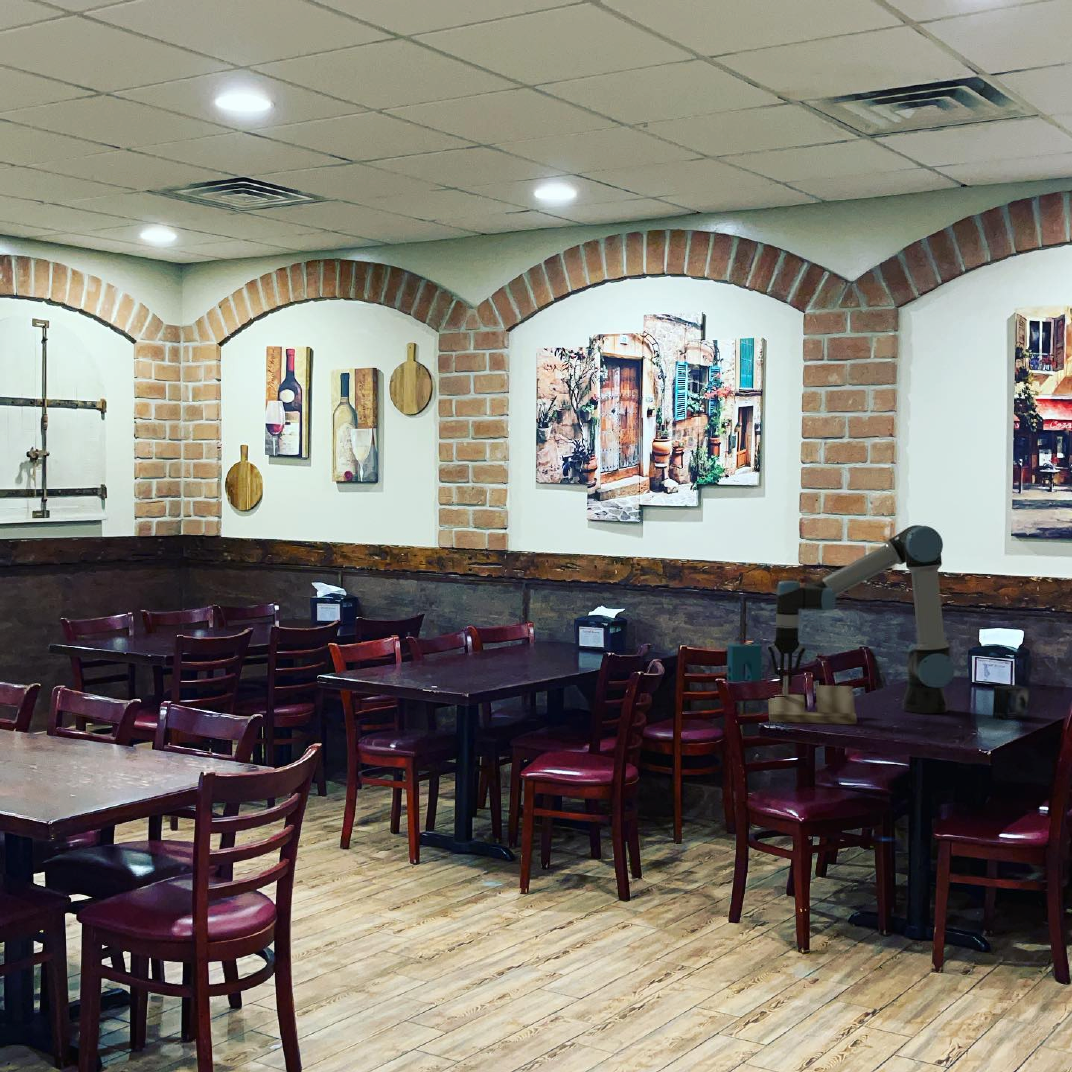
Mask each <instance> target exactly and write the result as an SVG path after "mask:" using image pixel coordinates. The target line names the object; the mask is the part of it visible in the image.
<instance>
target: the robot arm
mask: <svg viewBox="0 0 1072 1072" xmlns="http://www.w3.org/2000/svg"><path fill="white" fill-rule="evenodd" d="M943 548H944V542H943V538H942V536H941V535H940V534H939V532H938V531H937V530H936V529H934V528H933V527H931V526H928V525H920V524H919V525H917V524H915V525H912V526H909V527H907V528H904V529H903V530H902V531H900V532H899V533H898V534H896V535H894V536H893V537H891V538H889V539H887V540H886V543H885V544H884V545H882V546H881V547H879V548H877V549H874V550H873V551H871V552H870V553H867V554H865V555H864V556H861V557H860V558H858V559H857V560H854V561H853V562H851V563H849V564H847V565H845V566H843V567H841V568H840V569H837V570H836V571H834V572H833V573H830V574H829V575H826V576H824V577H823V578H821V579H819V580H817V581H816V582H814V583H810V584H808V585H806V586H805V587H802V586H801V584H800V582H799V581H796V580H781V581H779V582H778V583H777V588H776V589H777V591H776V616H775V617H776V618H775V619H776V621H775V624H776V627H775V639H774V642H773V643H772V644H771V645H768V646H767V650H768V651H769V653H770V656H771V660H772V665H773V672H774V674H775V675H776V676H778V677H779V686H780V687H781V686H782V694H783V696H788V694H789V687H791V686H792V680H793V679H792V677H795V676H797V675H798V672H799V668H800V665H801V661H802V659H803V658H802V657H803V654H804V653H805V652H806V647H805V646H803V645H801V644H800V641H799V628H798V627H799V624H800V622H799V619H800V616H799V615H800V614H799V612H800V610H802V611H803V610H809V611H811V610H812V611H824V612H826V611H834V609H835V607H836V603H837V602H836V601H837V600H836V598H837V596H839V595H840V594H843V593H844V592H846V591H848V590H849V589H852V588H853V587H855V586H857V585H859V584H861V583H863V582H865V581H866V580H869V579H871V578H872V577H874V576H876V575H878V574H880V573H882V572H884V571H885V570H888V569H889V568H891V567H893V566H895V565H900V566H901V565H904V564H905V567H906V569H907V570H908V571H910V574H911V581H912V582H911V583H912V594H913V602H914V613H915V624H916V637H917V643H916V644H915V643H914V644H910V645H909V647H908V650H907V657H908V658H907V689H906V691H905V693H904V697H903V700H902V703H901V706H902V707H901V710H903V711H905V712H909V713H916V714H917V713H918V714H928V715H929V714H932V715H933V714H943V713H947V712H948V703H947V700H946V697H945V692H944V690H943V687H945V686H947V685H948V684H949V683H950V682H951V681H952V680H953V678H954V675H955V669H956V668H955V665H954V661H953V660H952V658H951V657H952V656H951V649H950V648H951V647H950V644H949V643H948V642H947V641H946V640H945V635H944V634H945V633H944V621H943V614H942V613H943V612H942V611H943V610H942V600H941V590H940V581H939V580H940V579H939V569H940V568H941V566H942V565H943V561H942V551H943ZM776 649H777V650H778V652H779V653H780V656H779V657H780V659H779V661H780V663H779V669H778V664H777V659H776V655H775V650H776ZM797 649H798V650H797ZM796 650H797V651H798V653H797V657H796V661H795V665H794V669H792V668H793V654H794V653H795V651H796ZM785 654H786V655H787V675H784V673H785Z"/></svg>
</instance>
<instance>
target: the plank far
mask: <svg viewBox="0 0 1072 1072" xmlns="http://www.w3.org/2000/svg"><path fill="white" fill-rule="evenodd" d="M777 694H778V693H777ZM779 694H780V693H779ZM779 694H778V695H774V696H783V695H782V694H783V693H782V694H780V695H779ZM767 699H768V698H767ZM767 703H768V712H769V711H789V712H807V711H806V701H805V695H804V694H789V693H788V696H785V697H775V698H770V699H768V700H767Z"/></svg>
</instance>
